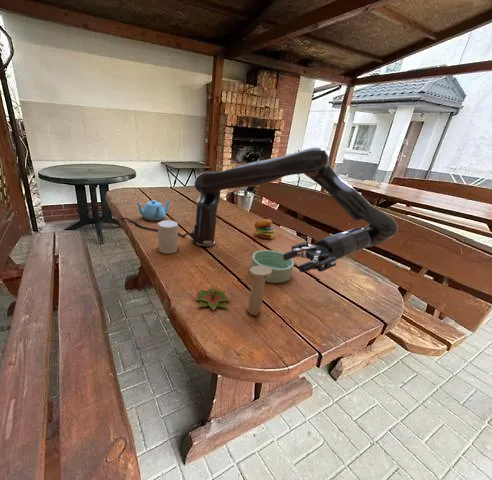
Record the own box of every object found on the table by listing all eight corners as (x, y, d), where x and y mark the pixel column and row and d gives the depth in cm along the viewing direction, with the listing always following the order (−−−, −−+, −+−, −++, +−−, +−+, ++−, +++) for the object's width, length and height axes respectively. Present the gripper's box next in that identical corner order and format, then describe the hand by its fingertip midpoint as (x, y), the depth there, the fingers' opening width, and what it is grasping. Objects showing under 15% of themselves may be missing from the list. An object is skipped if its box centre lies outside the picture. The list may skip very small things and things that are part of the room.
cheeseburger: (267, 241, 130) (266, 221, 127) (250, 239, 138) (249, 220, 135) (279, 236, 136) (278, 217, 133) (262, 234, 144) (261, 216, 141)
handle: (266, 315, 79) (275, 272, 73) (248, 320, 76) (255, 276, 70) (258, 305, 83) (265, 264, 77) (240, 309, 80) (246, 267, 74)
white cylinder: (162, 254, 110) (161, 228, 105) (156, 246, 116) (155, 221, 111) (180, 251, 113) (180, 226, 108) (173, 244, 120) (173, 219, 115)
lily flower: (229, 290, 89) (230, 278, 88) (233, 313, 79) (234, 301, 77) (194, 288, 89) (194, 277, 87) (193, 311, 78) (193, 299, 76)
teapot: (150, 212, 159) (149, 195, 154) (172, 216, 154) (172, 199, 150) (135, 219, 146) (135, 201, 142) (159, 224, 141) (159, 206, 137)
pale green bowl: (249, 280, 96) (251, 265, 94) (250, 260, 110) (252, 247, 108) (292, 286, 94) (296, 272, 92) (288, 266, 108) (291, 253, 106)
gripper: (321, 228, 87) (277, 243, 84) (354, 243, 74) (305, 262, 71) (322, 248, 90) (280, 263, 87) (354, 266, 77) (306, 284, 74)
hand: (291, 263), depth 79 cm, fingers open, 8 cm apart
